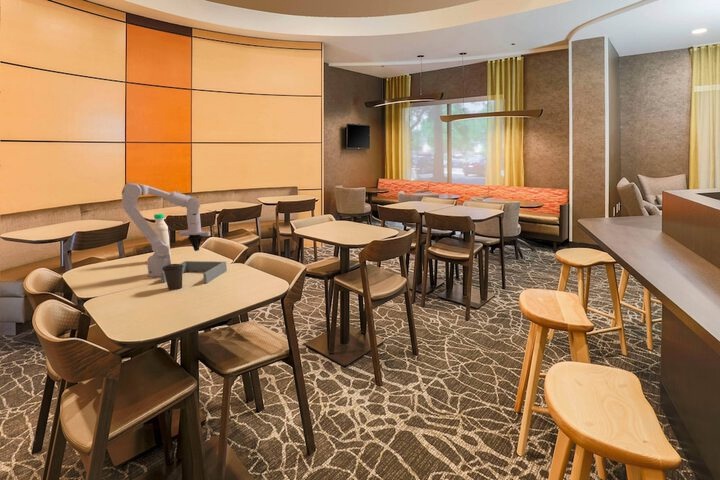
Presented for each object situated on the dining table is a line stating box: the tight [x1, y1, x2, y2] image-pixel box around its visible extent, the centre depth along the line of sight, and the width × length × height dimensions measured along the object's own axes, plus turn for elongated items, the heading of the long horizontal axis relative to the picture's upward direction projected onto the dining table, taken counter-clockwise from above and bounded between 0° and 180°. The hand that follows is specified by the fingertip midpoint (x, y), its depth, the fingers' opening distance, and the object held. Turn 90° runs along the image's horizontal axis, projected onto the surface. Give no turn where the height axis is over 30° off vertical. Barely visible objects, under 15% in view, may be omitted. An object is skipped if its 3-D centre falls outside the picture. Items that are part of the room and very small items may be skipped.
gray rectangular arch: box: [161, 260, 228, 285], centre depth 185 cm, size 20×20×4 cm
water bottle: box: [152, 213, 172, 261], centre depth 212 cm, size 7×7×25 cm
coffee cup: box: [162, 263, 184, 291], centre depth 168 cm, size 8×8×10 cm
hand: (196, 250), depth 195 cm, fingers closed
